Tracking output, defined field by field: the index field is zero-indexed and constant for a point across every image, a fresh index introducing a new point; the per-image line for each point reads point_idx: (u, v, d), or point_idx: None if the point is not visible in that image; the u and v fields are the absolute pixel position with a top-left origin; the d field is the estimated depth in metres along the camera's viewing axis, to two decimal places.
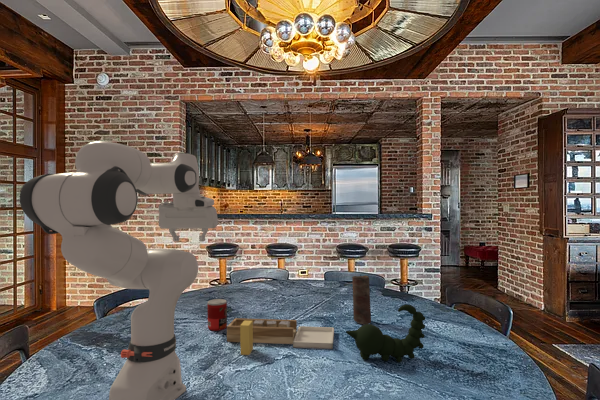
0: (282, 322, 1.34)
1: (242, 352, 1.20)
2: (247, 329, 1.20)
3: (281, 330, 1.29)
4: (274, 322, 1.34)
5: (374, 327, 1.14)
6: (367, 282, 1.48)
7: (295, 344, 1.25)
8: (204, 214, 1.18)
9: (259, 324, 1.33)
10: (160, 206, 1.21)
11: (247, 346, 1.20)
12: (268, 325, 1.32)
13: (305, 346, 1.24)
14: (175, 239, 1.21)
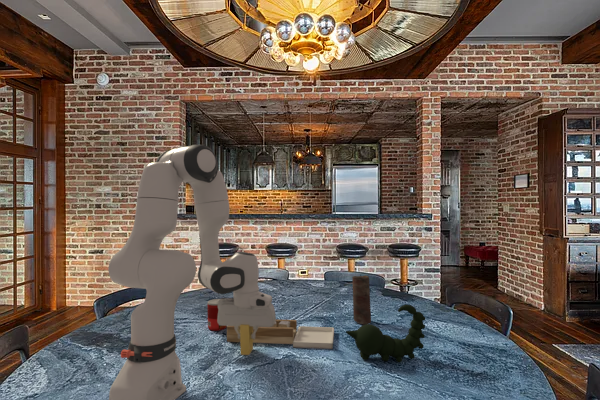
0: (282, 322, 1.34)
1: (242, 352, 1.20)
2: (247, 329, 1.20)
3: (281, 330, 1.29)
4: None
5: (374, 327, 1.14)
6: (367, 282, 1.48)
7: (295, 344, 1.25)
8: (264, 312, 1.20)
9: None
10: (219, 302, 1.23)
11: (247, 346, 1.20)
12: None
13: (305, 346, 1.24)
14: None
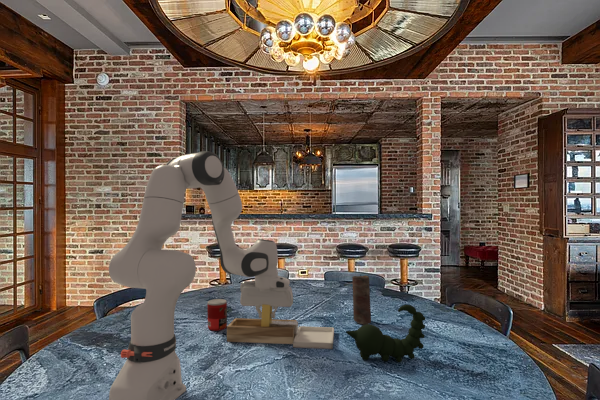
0: (290, 322, 1.33)
1: None
2: (268, 308, 1.32)
3: (281, 330, 1.29)
4: (286, 323, 1.33)
5: (374, 327, 1.14)
6: (367, 282, 1.48)
7: (295, 344, 1.25)
8: (283, 294, 1.32)
9: (275, 324, 1.32)
10: (242, 285, 1.36)
11: (267, 324, 1.32)
12: (279, 325, 1.32)
13: (305, 346, 1.24)
14: (261, 316, 1.34)
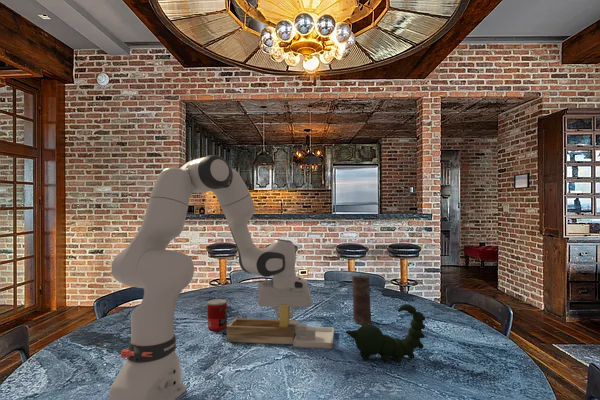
0: (315, 331, 1.32)
1: None
2: (286, 308, 1.31)
3: (281, 330, 1.29)
4: (304, 325, 1.32)
5: (374, 327, 1.14)
6: (367, 282, 1.48)
7: (295, 344, 1.25)
8: (301, 294, 1.32)
9: (294, 325, 1.32)
10: (259, 285, 1.35)
11: (285, 324, 1.31)
12: (297, 327, 1.31)
13: (305, 346, 1.24)
14: (279, 316, 1.33)
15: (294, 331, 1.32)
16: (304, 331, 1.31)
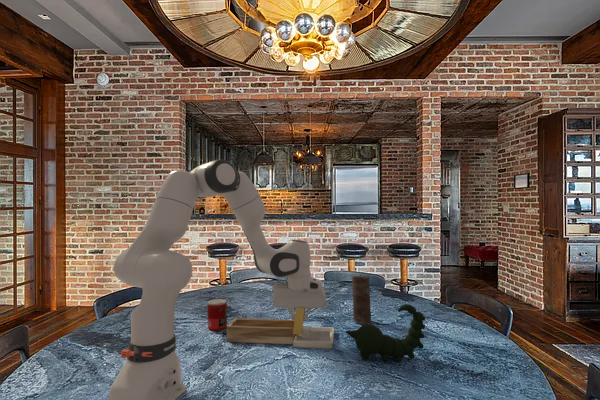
0: None
1: (295, 332, 1.31)
2: (302, 312, 1.30)
3: (281, 330, 1.29)
4: (318, 329, 1.31)
5: (374, 327, 1.14)
6: (367, 282, 1.48)
7: (295, 344, 1.25)
8: (316, 295, 1.31)
9: (308, 330, 1.31)
10: (274, 286, 1.34)
11: (300, 327, 1.30)
12: (312, 332, 1.30)
13: (305, 346, 1.24)
14: (293, 317, 1.32)
15: (308, 336, 1.31)
16: (319, 336, 1.30)
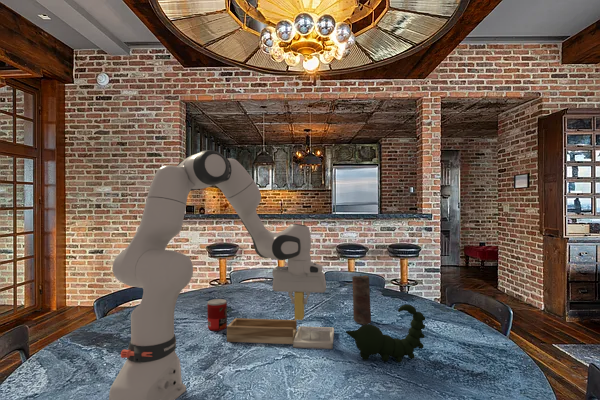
0: None
1: (296, 318, 1.30)
2: (301, 296, 1.30)
3: (281, 330, 1.29)
4: (318, 329, 1.31)
5: (374, 327, 1.14)
6: (367, 282, 1.48)
7: (295, 344, 1.25)
8: (316, 279, 1.30)
9: (307, 331, 1.31)
10: (274, 270, 1.34)
11: (301, 312, 1.30)
12: (312, 332, 1.30)
13: (305, 346, 1.24)
14: (293, 301, 1.32)
15: (308, 337, 1.31)
16: (319, 336, 1.30)
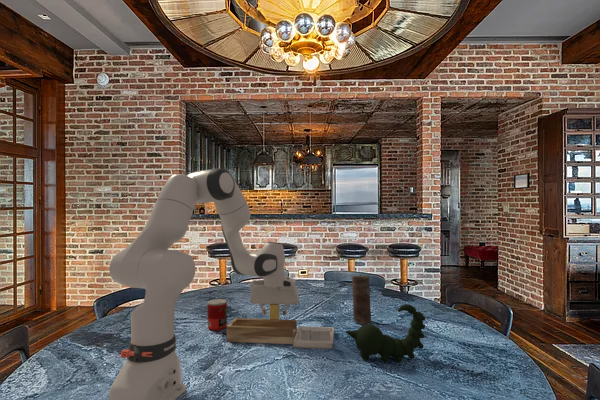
0: None
1: None
2: (275, 308, 1.43)
3: (281, 330, 1.29)
4: (318, 329, 1.31)
5: (374, 327, 1.14)
6: (367, 282, 1.48)
7: (295, 344, 1.25)
8: (289, 292, 1.43)
9: (307, 331, 1.31)
10: (251, 284, 1.46)
11: None
12: (312, 332, 1.30)
13: (305, 346, 1.24)
14: (264, 312, 1.45)
15: (308, 337, 1.31)
16: (319, 336, 1.30)
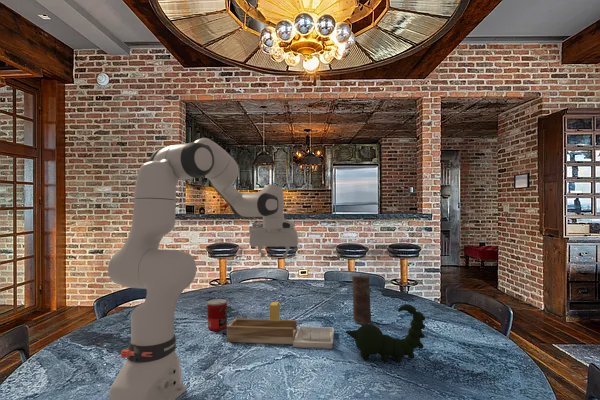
0: None
1: None
2: (275, 308, 1.43)
3: (281, 330, 1.29)
4: (318, 329, 1.31)
5: (374, 327, 1.14)
6: (367, 282, 1.48)
7: (295, 344, 1.25)
8: (288, 234, 1.43)
9: (307, 331, 1.31)
10: (251, 228, 1.47)
11: None
12: (312, 332, 1.30)
13: (305, 346, 1.24)
14: (262, 255, 1.45)
15: (308, 337, 1.31)
16: (319, 336, 1.30)
